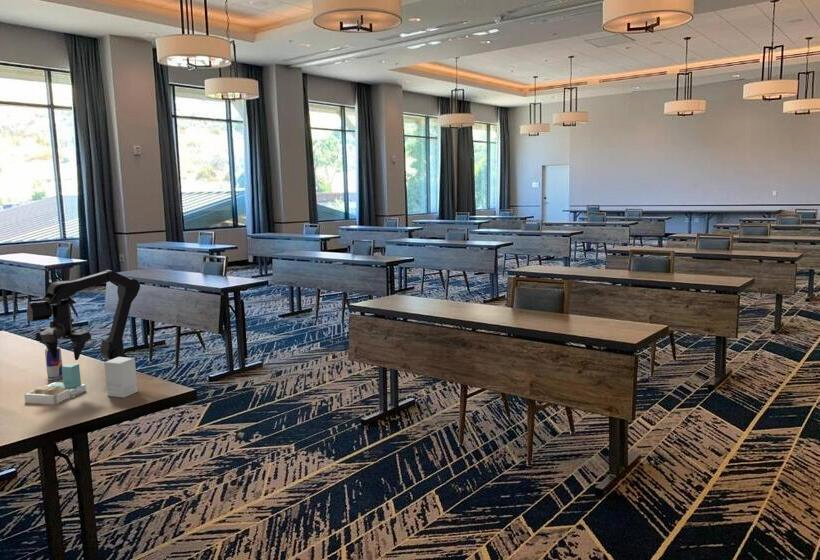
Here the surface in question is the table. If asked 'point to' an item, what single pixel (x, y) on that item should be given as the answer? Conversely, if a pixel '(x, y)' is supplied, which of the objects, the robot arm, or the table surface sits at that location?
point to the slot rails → (75, 389)
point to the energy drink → (54, 365)
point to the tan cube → (42, 389)
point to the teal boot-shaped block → (69, 377)
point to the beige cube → (55, 390)
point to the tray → (46, 397)
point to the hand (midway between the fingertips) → (65, 359)
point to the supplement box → (121, 377)
